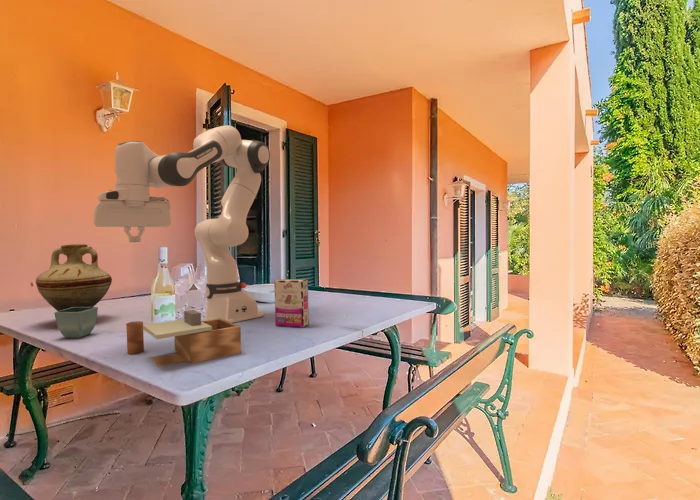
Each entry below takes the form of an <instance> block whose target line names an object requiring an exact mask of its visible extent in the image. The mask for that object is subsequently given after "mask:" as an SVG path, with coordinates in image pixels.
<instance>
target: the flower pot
mask: <svg viewBox="0 0 700 500" xmlns="http://www.w3.org/2000/svg"><path fill="white" fill-rule="evenodd" d="M98 311H99V306H94V307H72V308H68V309H64V310H61V311H57V310H56V311H54V317H55V324H56V326H57V329H58V331H59V332H60V333H61V335H62V336H63V337H64V338H65V339H66V338H67V339H69V338H72V339H73V338H75V339H76V338H78V339H79V338H83V337H85V336H88V335H91V333H92V332H93V330H94V329H95V326H96V323H97V320H98Z"/></svg>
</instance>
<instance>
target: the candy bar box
mask: <svg viewBox="0 0 700 500" xmlns="http://www.w3.org/2000/svg"><path fill="white" fill-rule="evenodd" d="M273 283H274V307H275V308H274V309H275V310H274V311H275V312H274V313H275V326H276V327H284V328H286V327H287V328H300V329H301V328H302V329H303V328H305V327H308V326H309V325H310V317H309V314H310V313H309V279H287V278H286V279H284V278H283V279H282V278H281V279H276V280H274V282H273Z"/></svg>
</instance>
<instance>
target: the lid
mask: <svg viewBox="0 0 700 500" xmlns="http://www.w3.org/2000/svg"><path fill="white" fill-rule="evenodd" d="M183 313H184V314H183V315H184V317H183V319H175V320H169V321H163V322H161V321H160V322H155V323H154V322H153V323H148V324H143V331H145V332H146V333H147V334H149V335H150V336H151V337H153V338H154V339H155V340H161V339H162V340H163V339H168V338H172V337H174V336H180V335H186V334H192V333H198V332H204V331H210V330H212V326H210V325H208V324H206V323H204V322H202V321H203V320H202V313H201V312H199V311H197V310H195V309H189V310H188V309H187V310H184V311H183ZM174 338H175V337H174Z"/></svg>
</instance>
